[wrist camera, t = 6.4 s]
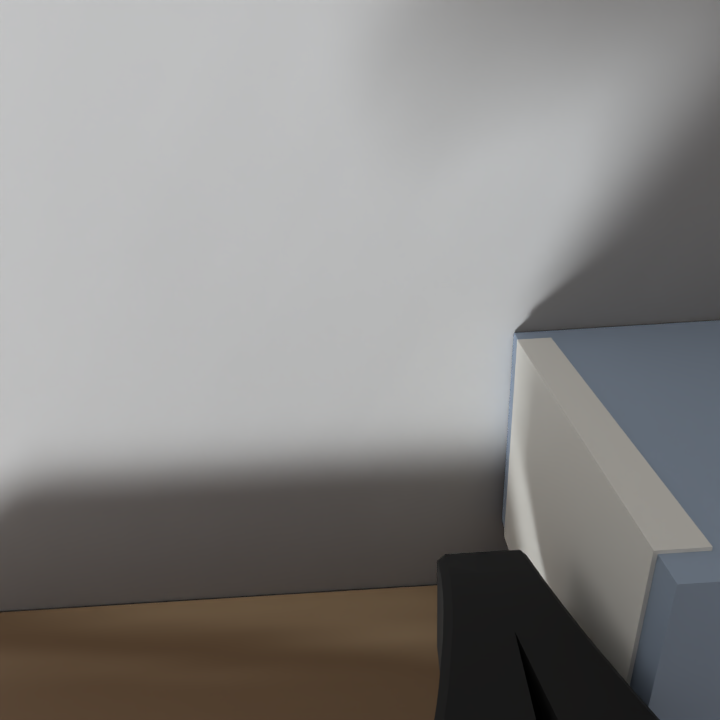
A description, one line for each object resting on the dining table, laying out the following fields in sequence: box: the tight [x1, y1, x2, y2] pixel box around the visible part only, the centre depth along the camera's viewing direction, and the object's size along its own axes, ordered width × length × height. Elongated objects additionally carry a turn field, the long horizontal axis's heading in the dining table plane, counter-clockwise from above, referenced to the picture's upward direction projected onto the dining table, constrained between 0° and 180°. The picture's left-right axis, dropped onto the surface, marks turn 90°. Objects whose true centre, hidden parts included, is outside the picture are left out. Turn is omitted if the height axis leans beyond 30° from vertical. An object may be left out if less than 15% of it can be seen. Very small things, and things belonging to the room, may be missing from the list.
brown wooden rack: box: [0, 585, 440, 720], centre depth 10 cm, size 10×30×6 cm, turn 93°
